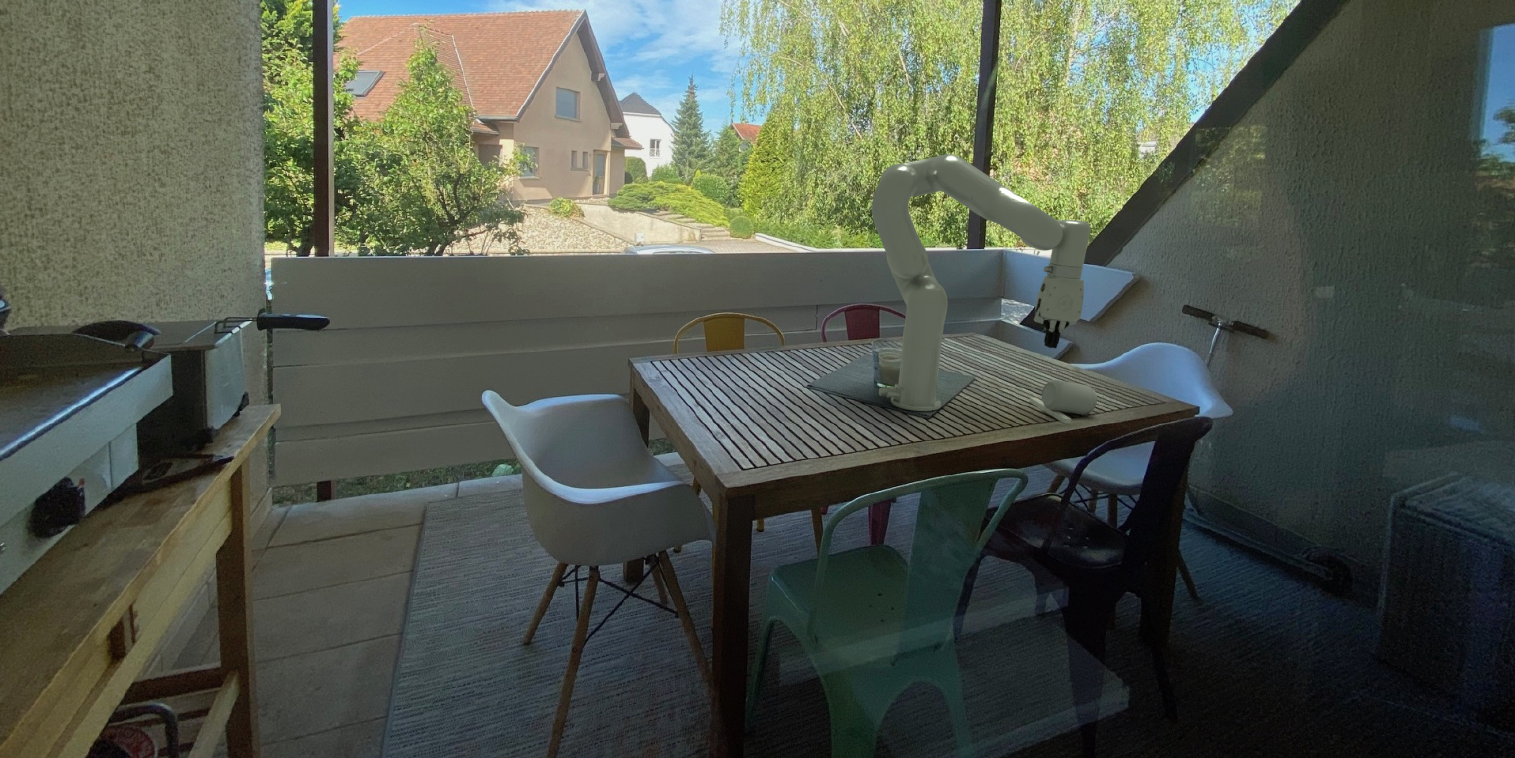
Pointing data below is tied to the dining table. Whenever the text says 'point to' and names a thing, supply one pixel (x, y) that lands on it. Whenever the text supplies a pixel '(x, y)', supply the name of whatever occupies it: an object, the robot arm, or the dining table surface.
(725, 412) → the dining table surface
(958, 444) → the dining table surface
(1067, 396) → the can
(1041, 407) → the stop strip
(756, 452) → the dining table surface
